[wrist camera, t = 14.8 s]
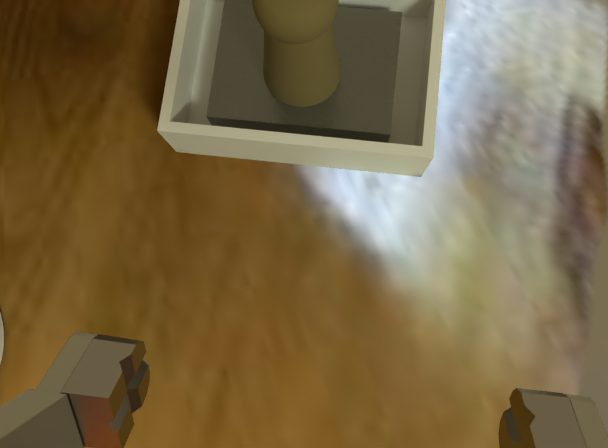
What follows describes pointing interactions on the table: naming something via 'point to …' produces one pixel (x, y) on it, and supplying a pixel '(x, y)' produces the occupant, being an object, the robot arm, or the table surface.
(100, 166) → the table surface
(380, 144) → the tote
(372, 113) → the tin box
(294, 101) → the cork
